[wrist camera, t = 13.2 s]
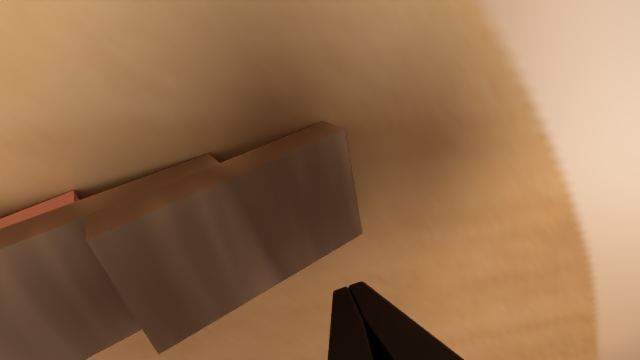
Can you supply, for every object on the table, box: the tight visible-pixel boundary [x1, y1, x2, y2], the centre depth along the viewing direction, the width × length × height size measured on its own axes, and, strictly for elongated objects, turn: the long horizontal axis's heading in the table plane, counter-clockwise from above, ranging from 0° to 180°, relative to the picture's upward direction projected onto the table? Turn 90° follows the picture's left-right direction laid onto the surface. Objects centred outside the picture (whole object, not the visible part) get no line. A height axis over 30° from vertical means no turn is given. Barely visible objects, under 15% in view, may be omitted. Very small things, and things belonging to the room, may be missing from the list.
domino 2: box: [85, 122, 362, 354], centre depth 13 cm, size 2×5×9 cm
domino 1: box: [0, 153, 219, 360], centre depth 13 cm, size 2×5×9 cm
